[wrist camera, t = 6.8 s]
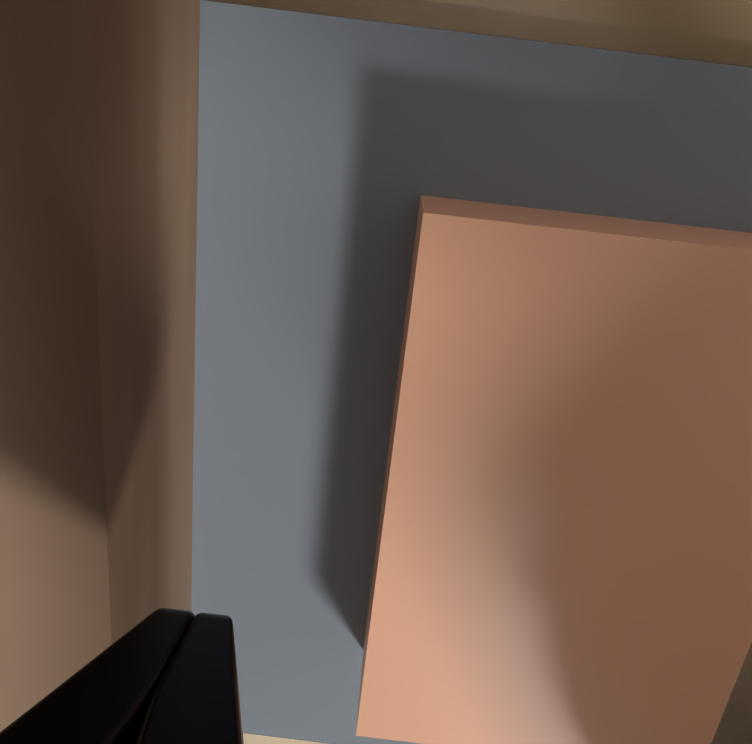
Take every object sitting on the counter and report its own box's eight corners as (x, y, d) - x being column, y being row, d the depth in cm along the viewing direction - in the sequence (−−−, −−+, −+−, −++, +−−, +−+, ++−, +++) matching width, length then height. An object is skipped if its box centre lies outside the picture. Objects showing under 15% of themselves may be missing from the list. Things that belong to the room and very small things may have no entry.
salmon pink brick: (423, 212, 8) (420, 195, 10) (355, 736, 12) (363, 649, 13) (901, 267, 8) (811, 239, 10) (698, 776, 11) (657, 683, 13)
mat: (819, 78, 10) (834, 77, 9) (595, 760, 15) (600, 777, 14) (208, 4, 10) (199, -1, 9) (195, 710, 15) (189, 726, 14)
